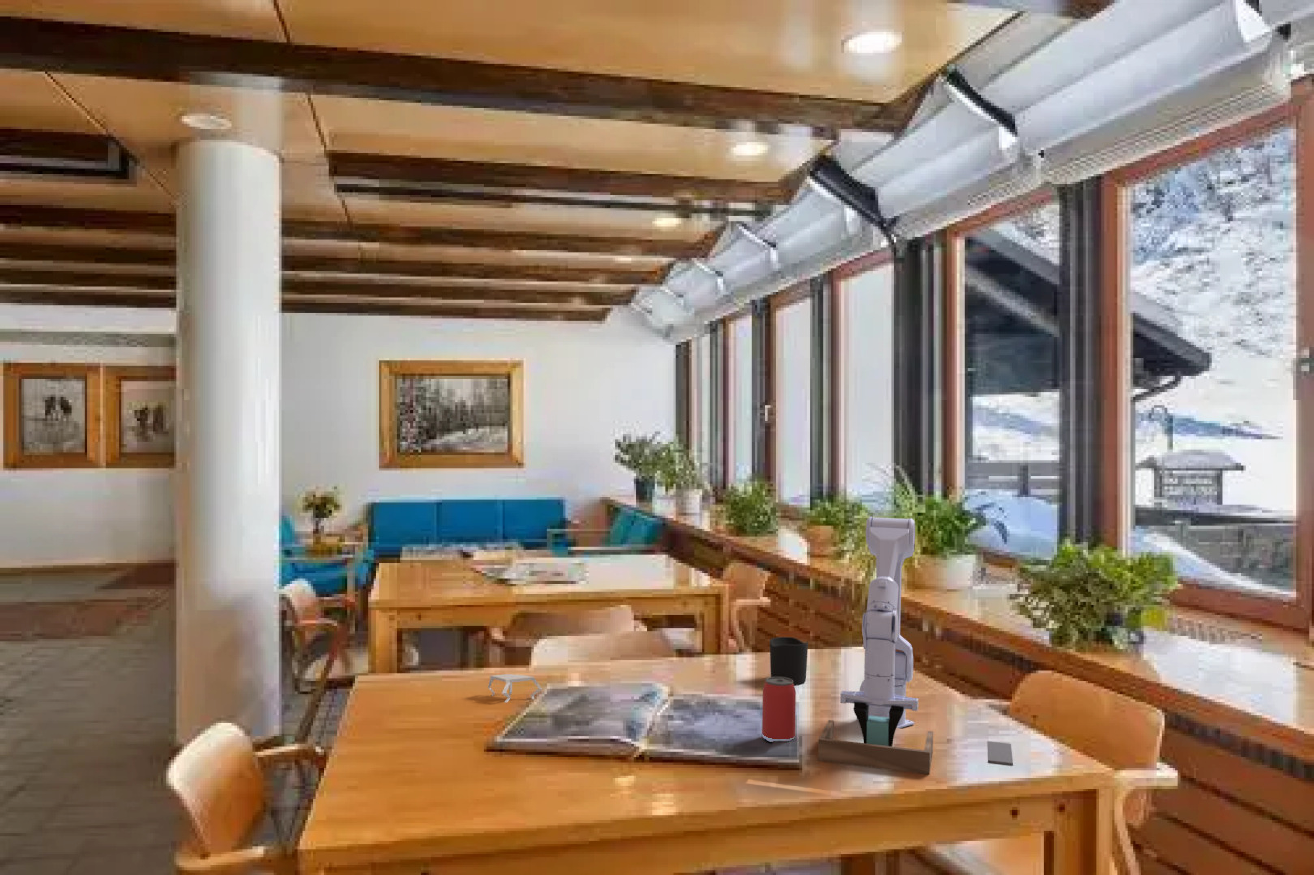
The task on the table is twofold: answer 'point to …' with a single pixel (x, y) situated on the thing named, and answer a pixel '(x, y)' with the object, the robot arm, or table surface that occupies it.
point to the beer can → (778, 708)
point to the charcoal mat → (999, 753)
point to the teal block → (878, 730)
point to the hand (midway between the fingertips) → (878, 743)
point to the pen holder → (788, 659)
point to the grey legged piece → (509, 679)
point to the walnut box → (874, 753)
